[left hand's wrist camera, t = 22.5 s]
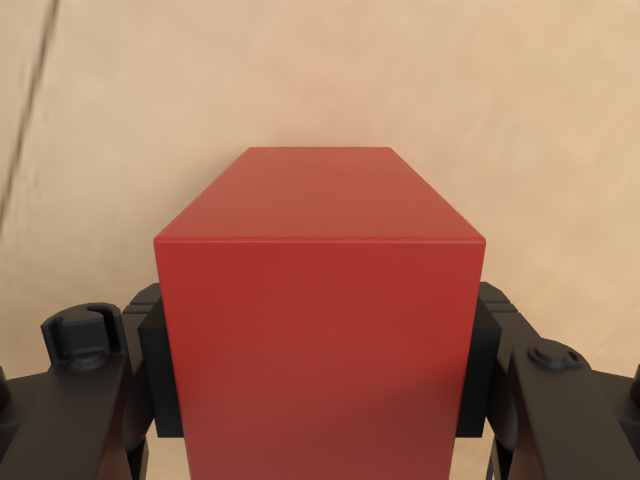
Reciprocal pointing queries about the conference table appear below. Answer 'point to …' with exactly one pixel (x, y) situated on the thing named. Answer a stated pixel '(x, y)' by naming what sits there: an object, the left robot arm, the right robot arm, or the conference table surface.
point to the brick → (319, 318)
